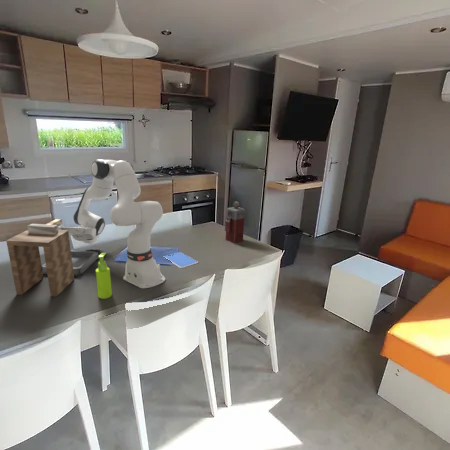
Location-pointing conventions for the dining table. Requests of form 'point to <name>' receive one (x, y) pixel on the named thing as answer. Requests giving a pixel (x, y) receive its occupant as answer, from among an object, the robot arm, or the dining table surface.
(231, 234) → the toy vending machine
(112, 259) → the dining table surface
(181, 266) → the blue notebook
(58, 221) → the scraper
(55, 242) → the walnut bench
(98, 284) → the soap dispenser
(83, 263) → the tray
